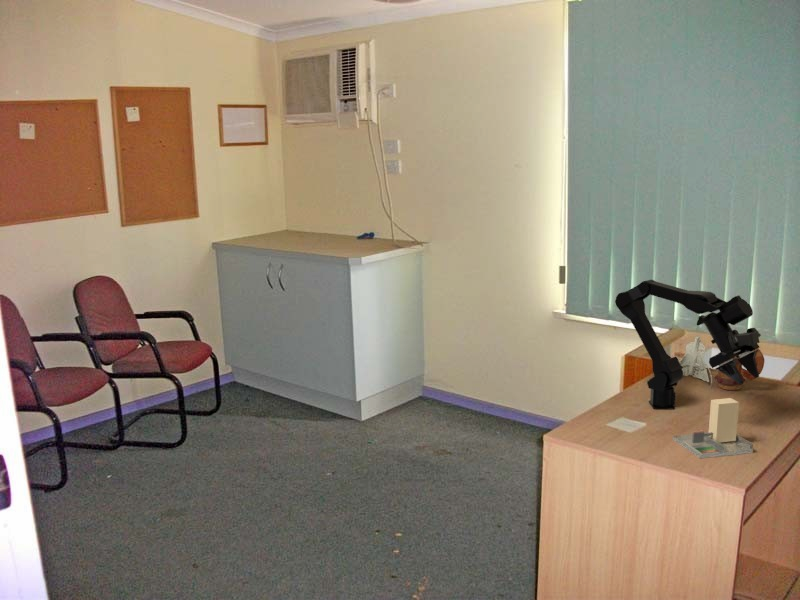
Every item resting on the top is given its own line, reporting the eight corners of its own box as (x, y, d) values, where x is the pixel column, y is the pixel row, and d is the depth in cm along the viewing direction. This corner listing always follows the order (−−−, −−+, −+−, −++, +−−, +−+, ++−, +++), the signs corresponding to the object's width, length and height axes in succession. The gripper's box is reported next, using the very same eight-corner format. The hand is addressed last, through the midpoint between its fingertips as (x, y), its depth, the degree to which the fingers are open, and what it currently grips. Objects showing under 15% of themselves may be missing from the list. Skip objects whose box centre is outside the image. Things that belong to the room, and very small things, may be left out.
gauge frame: (672, 439, 207) (673, 431, 207) (722, 434, 210) (723, 426, 210) (700, 458, 195) (700, 449, 194) (752, 452, 198) (753, 443, 197)
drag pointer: (692, 442, 201) (692, 431, 200) (702, 441, 201) (703, 430, 200) (693, 443, 200) (694, 432, 199) (703, 442, 201) (704, 431, 200)
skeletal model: (660, 384, 254) (670, 323, 267) (662, 397, 261) (672, 338, 274) (710, 389, 247) (719, 327, 259) (711, 403, 254) (720, 342, 266)
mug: (711, 389, 248) (714, 345, 245) (716, 382, 254) (719, 340, 251) (759, 397, 239) (762, 352, 236) (763, 390, 246) (767, 346, 243)
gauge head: (690, 438, 204) (693, 400, 202) (726, 435, 206) (729, 397, 204) (699, 444, 200) (701, 405, 198) (735, 440, 202) (738, 402, 200)
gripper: (728, 325, 203) (759, 376, 198) (760, 314, 214) (789, 362, 210) (696, 342, 211) (724, 392, 206) (728, 331, 223) (756, 378, 218)
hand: (749, 380), depth 210 cm, fingers open, 9 cm apart
